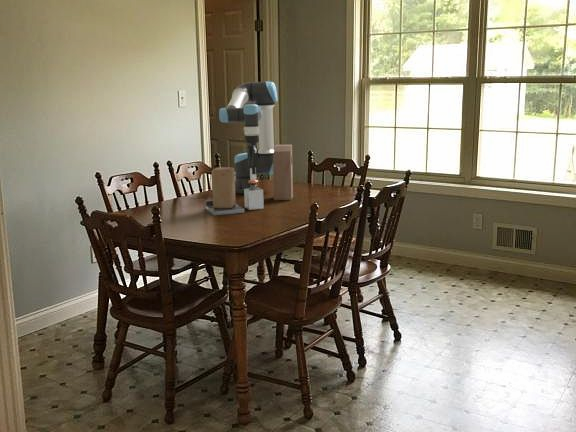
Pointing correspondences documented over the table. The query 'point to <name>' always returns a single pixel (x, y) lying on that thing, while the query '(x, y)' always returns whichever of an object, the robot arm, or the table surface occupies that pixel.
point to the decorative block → (282, 172)
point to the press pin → (253, 184)
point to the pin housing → (254, 198)
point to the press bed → (223, 209)
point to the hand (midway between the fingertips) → (253, 180)
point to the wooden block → (223, 187)
